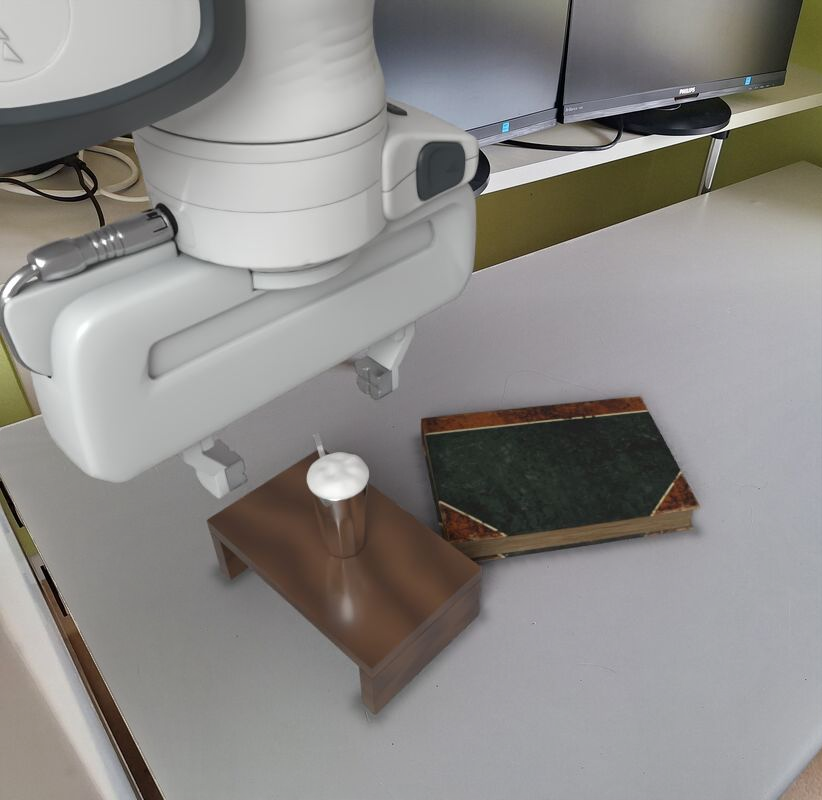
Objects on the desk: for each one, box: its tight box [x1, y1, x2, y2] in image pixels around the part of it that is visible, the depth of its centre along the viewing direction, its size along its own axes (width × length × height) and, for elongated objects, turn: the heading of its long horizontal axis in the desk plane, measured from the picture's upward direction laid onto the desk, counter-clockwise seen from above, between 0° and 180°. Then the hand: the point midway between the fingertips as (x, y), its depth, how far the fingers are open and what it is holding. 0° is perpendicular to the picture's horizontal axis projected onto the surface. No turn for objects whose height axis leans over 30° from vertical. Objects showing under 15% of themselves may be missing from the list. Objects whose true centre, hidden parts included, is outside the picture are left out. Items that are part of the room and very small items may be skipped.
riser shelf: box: [206, 448, 483, 715], centre depth 65 cm, size 12×20×7 cm, turn 52°
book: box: [420, 395, 701, 563], centre depth 78 cm, size 17×4×25 cm
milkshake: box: [307, 432, 370, 558], centre depth 60 cm, size 4×5×10 cm
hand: (307, 433), depth 38 cm, fingers open, 8 cm apart
